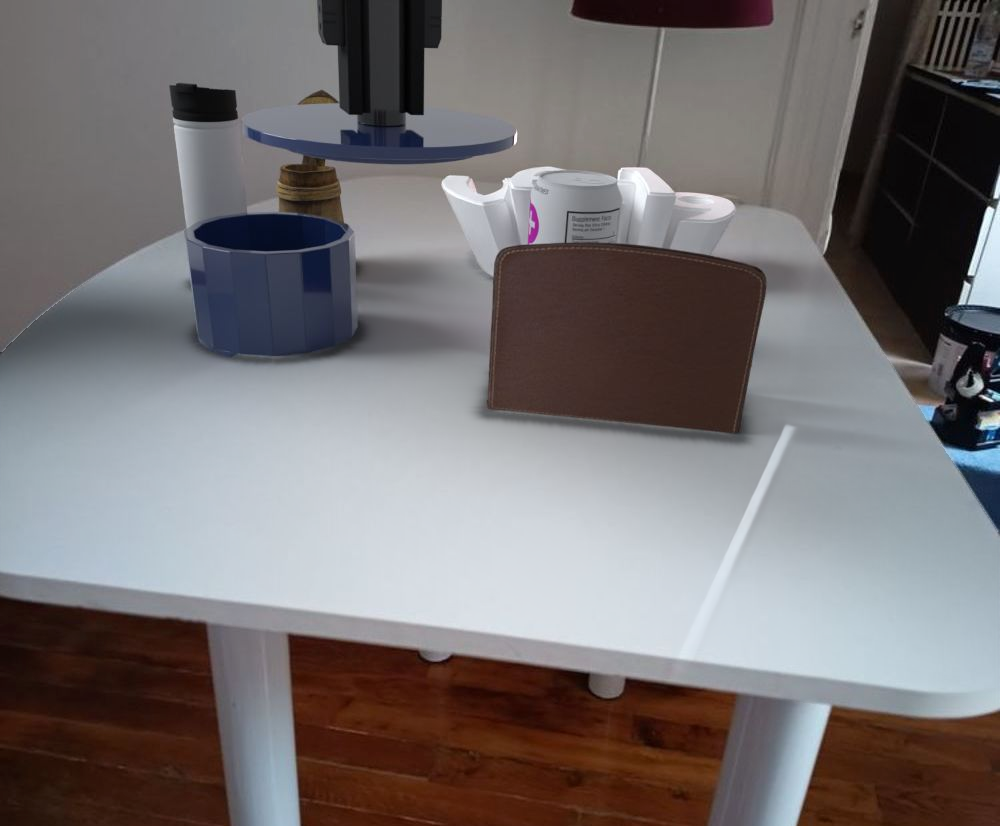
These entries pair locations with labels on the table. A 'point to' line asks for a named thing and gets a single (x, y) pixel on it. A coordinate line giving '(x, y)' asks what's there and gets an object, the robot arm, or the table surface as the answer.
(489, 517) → the table surface
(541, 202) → the supplement can
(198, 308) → the pot
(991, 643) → the table surface
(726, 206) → the wavy white extrusion
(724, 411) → the letter holder
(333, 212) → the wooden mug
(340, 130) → the lid
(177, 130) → the travel mug
